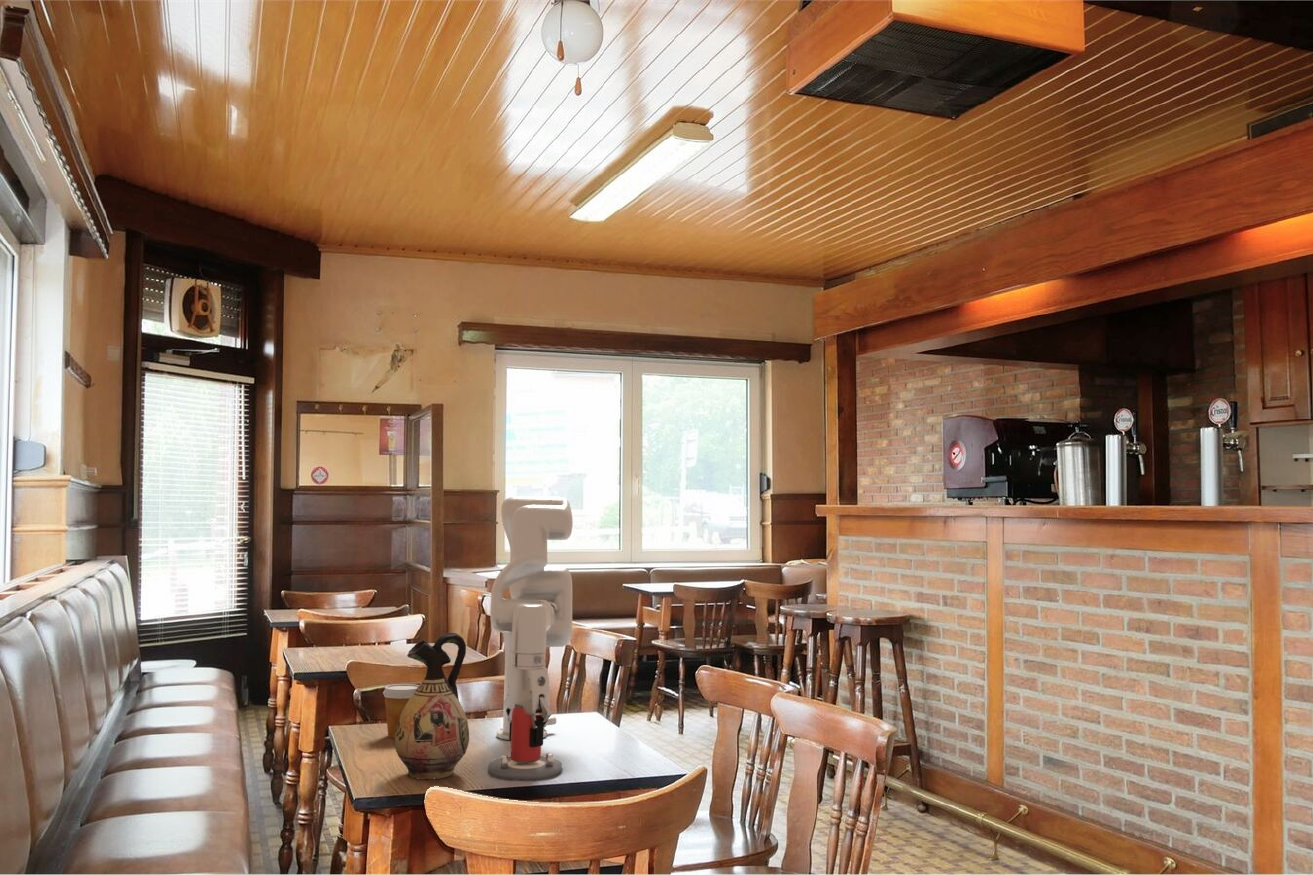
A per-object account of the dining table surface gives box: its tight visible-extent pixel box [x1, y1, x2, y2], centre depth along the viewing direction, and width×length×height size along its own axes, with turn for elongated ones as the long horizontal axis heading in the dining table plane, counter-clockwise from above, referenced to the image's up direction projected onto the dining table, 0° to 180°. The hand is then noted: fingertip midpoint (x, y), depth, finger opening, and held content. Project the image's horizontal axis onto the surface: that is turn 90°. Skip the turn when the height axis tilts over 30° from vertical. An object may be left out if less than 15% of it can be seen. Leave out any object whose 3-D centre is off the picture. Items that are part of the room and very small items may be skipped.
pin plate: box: [487, 755, 563, 782], centre depth 223 cm, size 16×16×2 cm
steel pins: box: [500, 753, 554, 769], centre depth 222 cm, size 10×11×2 cm
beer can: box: [510, 704, 542, 763], centre depth 224 cm, size 7×7×12 cm
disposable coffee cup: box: [382, 683, 420, 739], centre depth 256 cm, size 10×10×12 cm
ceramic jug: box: [394, 632, 470, 780], centre depth 220 cm, size 17×15×30 cm
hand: (525, 742), depth 224 cm, fingers closed on beer can, 6 cm apart
